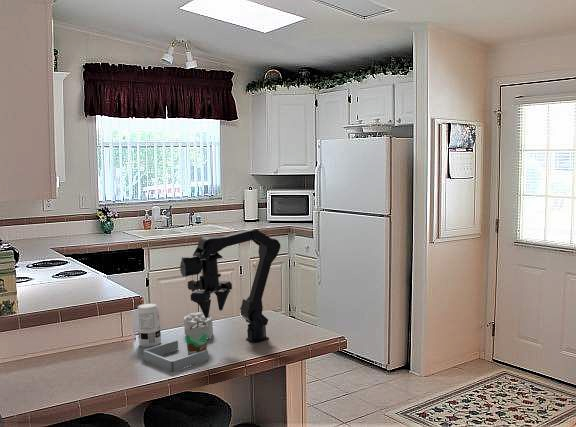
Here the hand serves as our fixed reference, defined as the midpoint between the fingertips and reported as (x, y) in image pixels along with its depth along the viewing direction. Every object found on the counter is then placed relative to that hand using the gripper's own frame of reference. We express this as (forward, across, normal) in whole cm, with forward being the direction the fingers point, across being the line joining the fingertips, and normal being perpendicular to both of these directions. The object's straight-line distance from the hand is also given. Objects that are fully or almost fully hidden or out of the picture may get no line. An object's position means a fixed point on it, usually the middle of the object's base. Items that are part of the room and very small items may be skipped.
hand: (213, 313), depth 217 cm
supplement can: (+13, +4, -28) cm, 31 cm away
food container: (+13, +5, -4) cm, 14 cm away
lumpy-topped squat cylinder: (+13, -11, -15) cm, 23 cm away
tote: (+13, +15, -7) cm, 21 cm away
